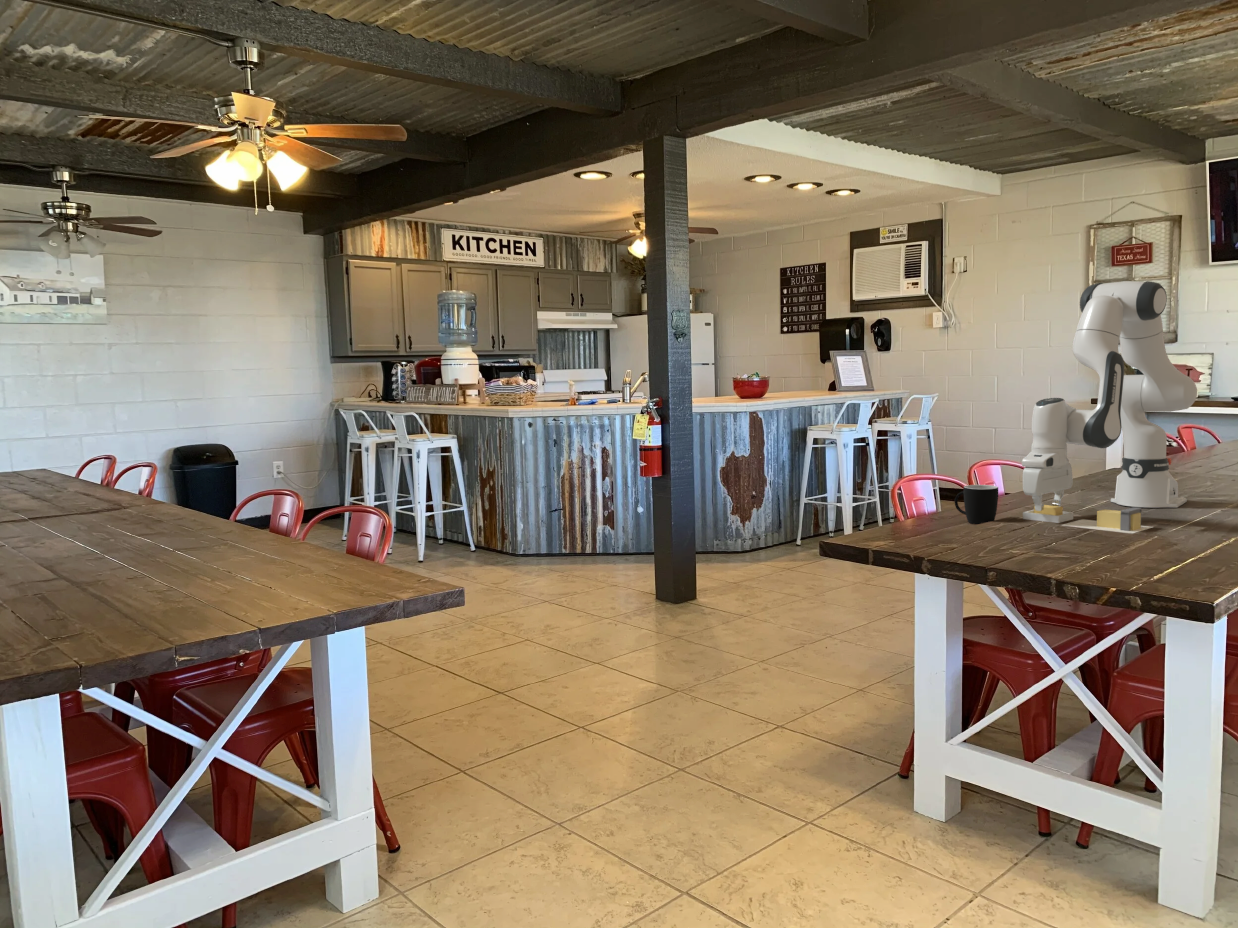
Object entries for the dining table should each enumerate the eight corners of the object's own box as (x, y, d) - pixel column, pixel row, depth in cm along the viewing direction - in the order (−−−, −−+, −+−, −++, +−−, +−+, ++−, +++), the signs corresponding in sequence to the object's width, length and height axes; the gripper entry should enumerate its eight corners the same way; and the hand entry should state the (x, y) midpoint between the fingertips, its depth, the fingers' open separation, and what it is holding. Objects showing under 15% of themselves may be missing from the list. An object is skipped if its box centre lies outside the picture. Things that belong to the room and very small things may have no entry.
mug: (1003, 522, 255) (1003, 486, 254) (989, 526, 249) (989, 489, 248) (962, 518, 264) (962, 483, 262) (947, 522, 257) (947, 486, 256)
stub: (1041, 518, 254) (1041, 504, 254) (1062, 521, 250) (1062, 506, 249) (1033, 520, 252) (1033, 506, 252) (1055, 523, 247) (1055, 508, 247)
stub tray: (1037, 519, 257) (1037, 508, 257) (1073, 523, 249) (1073, 512, 249) (1022, 522, 252) (1022, 512, 252) (1058, 527, 245) (1058, 516, 244)
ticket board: (1082, 523, 248) (1082, 501, 248) (1153, 531, 234) (1154, 507, 234) (1060, 529, 241) (1060, 506, 241) (1132, 538, 227) (1132, 513, 226)
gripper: (1056, 454, 258) (1055, 502, 259) (1018, 460, 245) (1017, 511, 247) (1079, 455, 253) (1078, 504, 254) (1041, 462, 240) (1040, 514, 242)
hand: (1048, 508), depth 251 cm, fingers open, 8 cm apart
